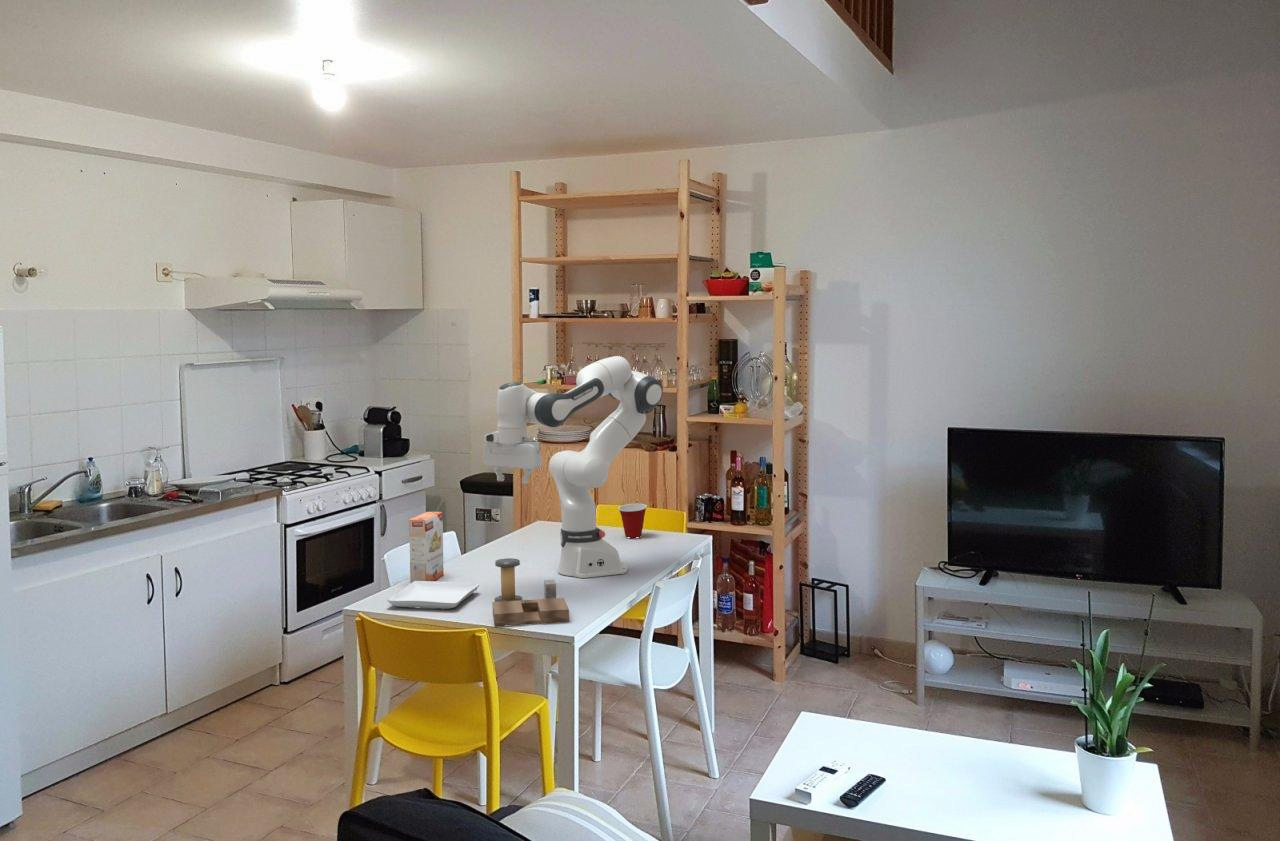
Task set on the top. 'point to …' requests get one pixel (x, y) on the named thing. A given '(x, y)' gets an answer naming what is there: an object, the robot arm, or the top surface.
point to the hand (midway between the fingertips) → (512, 482)
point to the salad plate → (432, 594)
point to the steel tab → (549, 589)
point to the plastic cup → (632, 519)
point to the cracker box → (426, 546)
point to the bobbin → (507, 579)
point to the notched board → (530, 611)
